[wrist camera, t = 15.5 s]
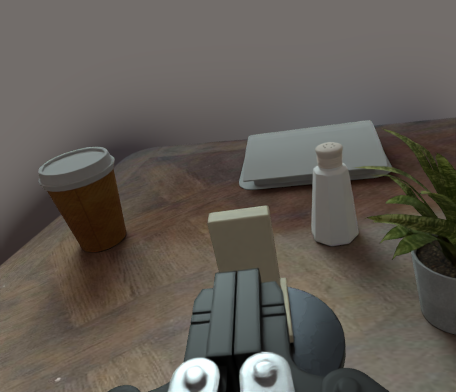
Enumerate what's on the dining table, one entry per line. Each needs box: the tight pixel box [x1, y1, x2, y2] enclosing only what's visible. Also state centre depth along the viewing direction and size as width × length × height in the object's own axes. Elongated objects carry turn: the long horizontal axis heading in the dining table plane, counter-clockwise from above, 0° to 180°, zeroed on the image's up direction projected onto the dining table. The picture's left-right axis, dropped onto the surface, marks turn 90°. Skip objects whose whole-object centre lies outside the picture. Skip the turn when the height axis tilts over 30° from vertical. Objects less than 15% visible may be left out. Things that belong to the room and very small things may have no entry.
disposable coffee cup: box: [38, 147, 126, 252], centre depth 53 cm, size 10×10×12 cm
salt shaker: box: [312, 142, 359, 246], centre depth 44 cm, size 5×5×11 cm
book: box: [239, 120, 392, 190], centre depth 64 cm, size 15×23×4 cm, turn 82°
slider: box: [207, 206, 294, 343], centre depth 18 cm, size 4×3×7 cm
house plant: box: [353, 130, 456, 334], centre depth 31 cm, size 14×14×16 cm
